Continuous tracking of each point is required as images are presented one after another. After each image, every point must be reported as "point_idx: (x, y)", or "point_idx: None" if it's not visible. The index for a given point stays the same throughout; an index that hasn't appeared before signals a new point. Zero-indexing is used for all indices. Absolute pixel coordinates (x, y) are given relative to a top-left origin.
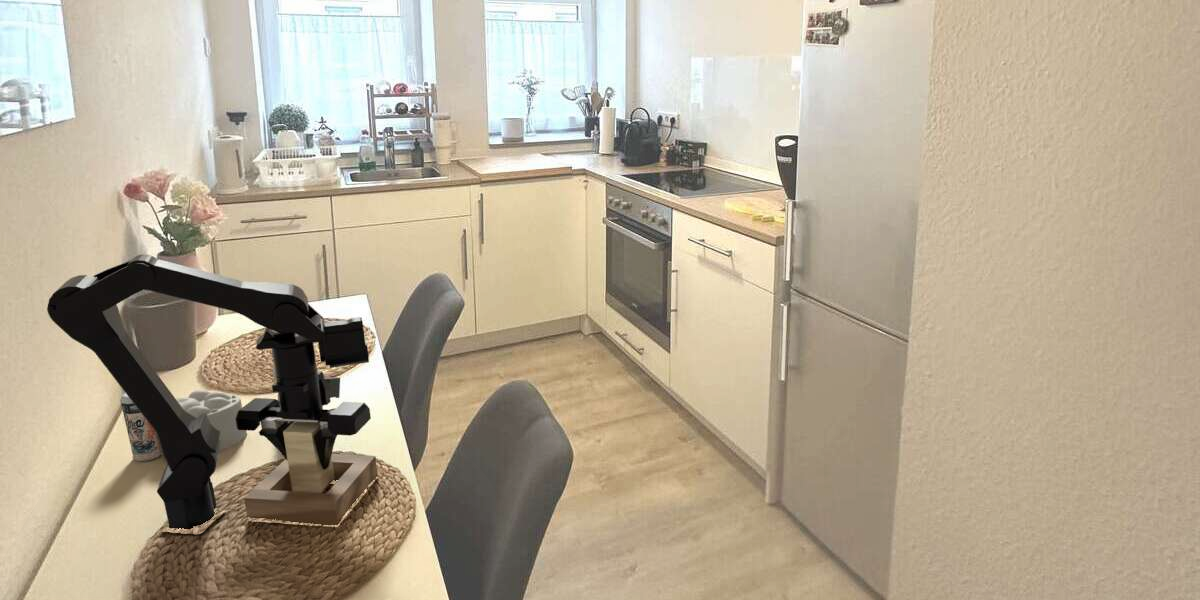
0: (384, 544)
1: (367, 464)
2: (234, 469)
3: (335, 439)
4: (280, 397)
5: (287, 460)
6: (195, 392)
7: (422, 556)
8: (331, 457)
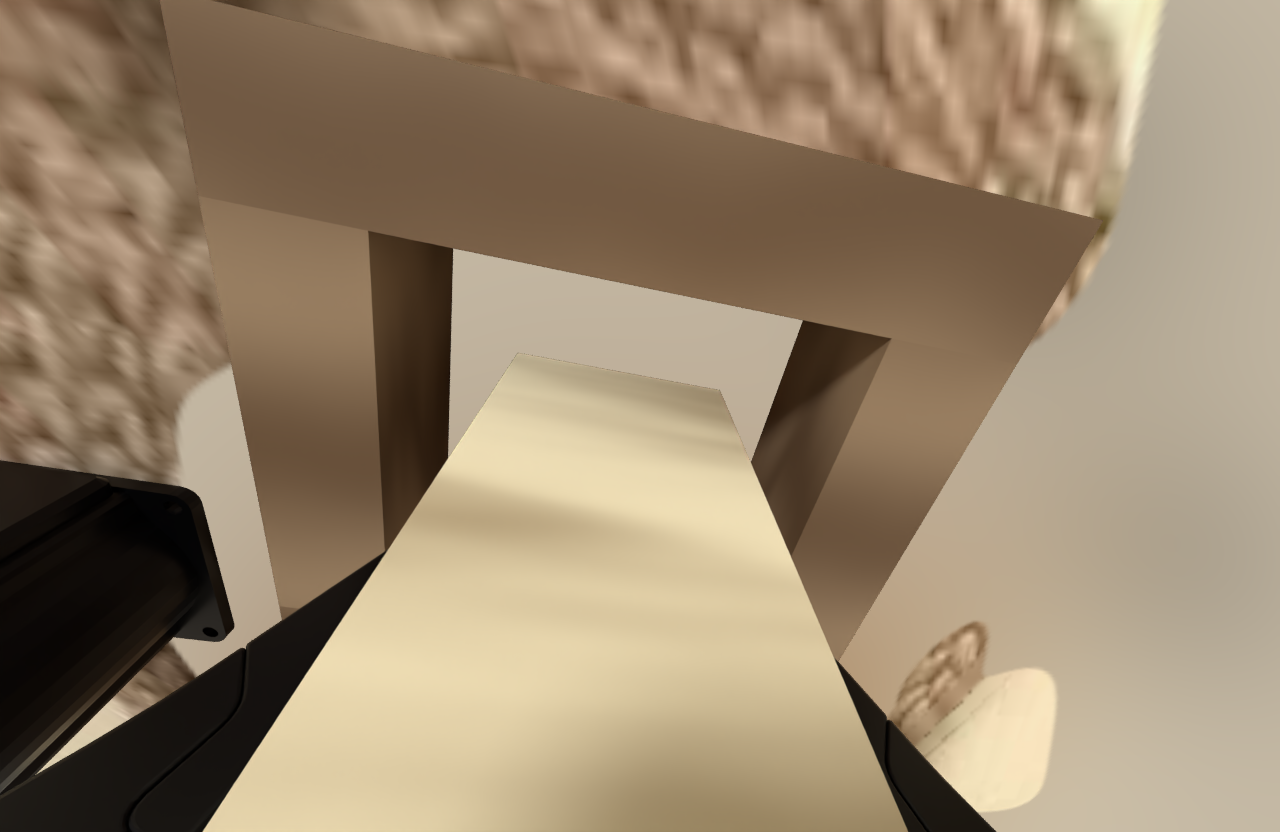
0: (931, 688)
1: (1006, 376)
2: None
3: (978, 819)
4: None
5: None
6: None
7: (1037, 732)
8: (757, 484)
